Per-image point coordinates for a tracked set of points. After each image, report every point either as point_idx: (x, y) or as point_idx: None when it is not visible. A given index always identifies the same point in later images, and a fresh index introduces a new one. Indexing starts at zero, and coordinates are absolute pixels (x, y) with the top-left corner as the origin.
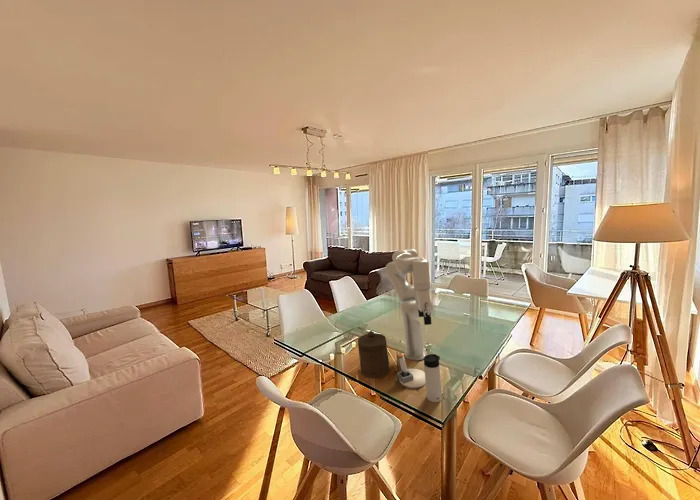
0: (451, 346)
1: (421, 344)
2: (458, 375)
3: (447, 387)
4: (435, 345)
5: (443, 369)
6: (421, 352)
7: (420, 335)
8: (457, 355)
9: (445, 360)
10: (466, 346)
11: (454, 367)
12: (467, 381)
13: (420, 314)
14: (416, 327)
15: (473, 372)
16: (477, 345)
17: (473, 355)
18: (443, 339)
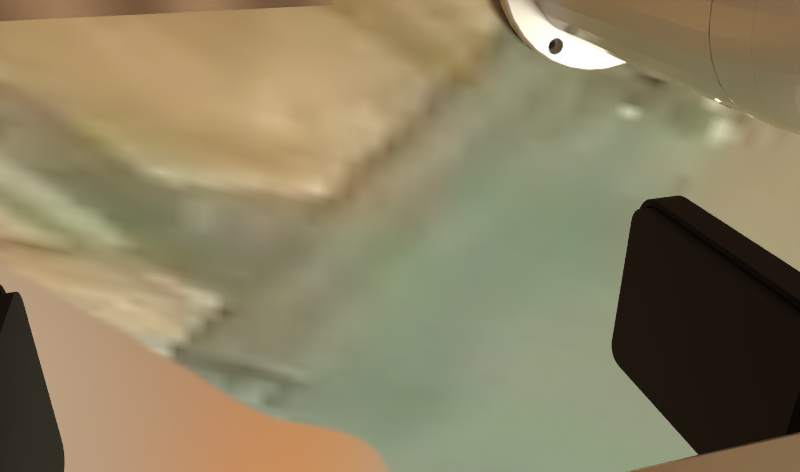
0: (620, 287)
1: (607, 40)
2: (197, 251)
3: (8, 123)
4: (683, 172)
5: (303, 154)
6: (557, 13)
7: (675, 65)
8: (484, 302)
9: (437, 200)
10: (582, 383)
11: (319, 246)
12: (104, 296)
13: (677, 274)
14: (760, 44)
15: (229, 360)
16: (569, 447)
17: (454, 402)
18: None
